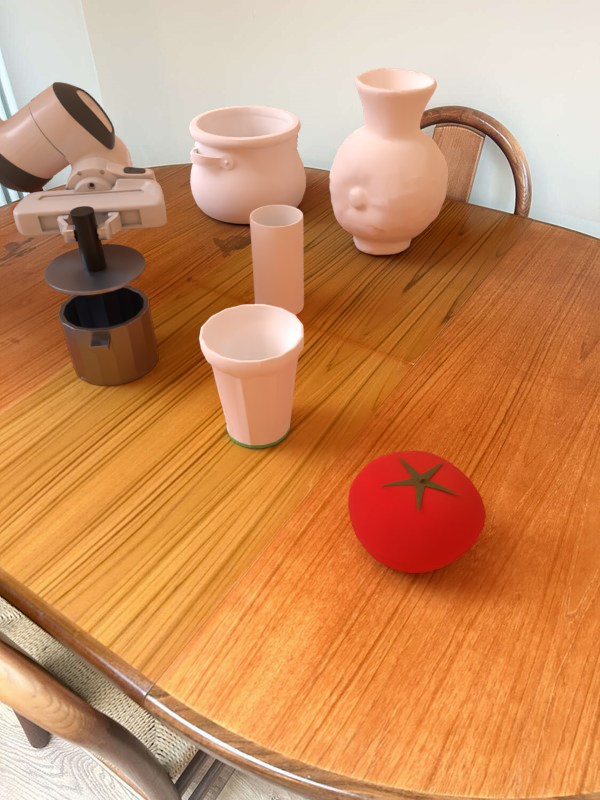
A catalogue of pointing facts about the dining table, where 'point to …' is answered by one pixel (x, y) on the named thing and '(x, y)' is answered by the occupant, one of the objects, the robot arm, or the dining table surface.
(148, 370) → the cooker
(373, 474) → the tomato
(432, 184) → the vase
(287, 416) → the cup
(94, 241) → the lid
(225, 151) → the pot
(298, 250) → the cup
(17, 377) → the dining table surface
